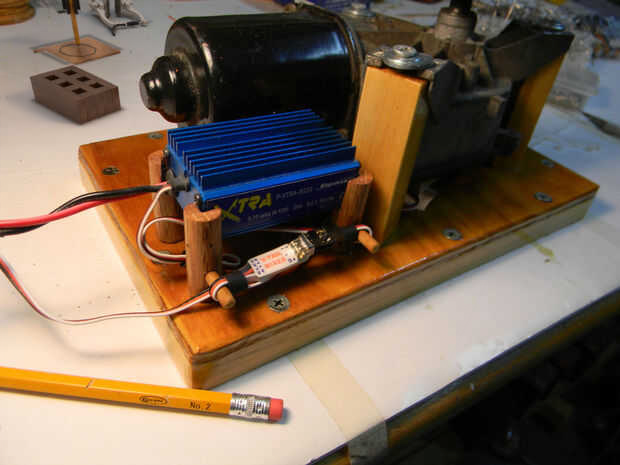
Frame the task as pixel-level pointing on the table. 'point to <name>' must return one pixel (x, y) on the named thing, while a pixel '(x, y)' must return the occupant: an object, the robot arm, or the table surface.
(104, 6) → the bike brake
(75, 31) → the pencil
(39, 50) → the pad
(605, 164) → the table surface
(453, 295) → the table surface
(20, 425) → the table surface
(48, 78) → the stand
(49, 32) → the table surface
